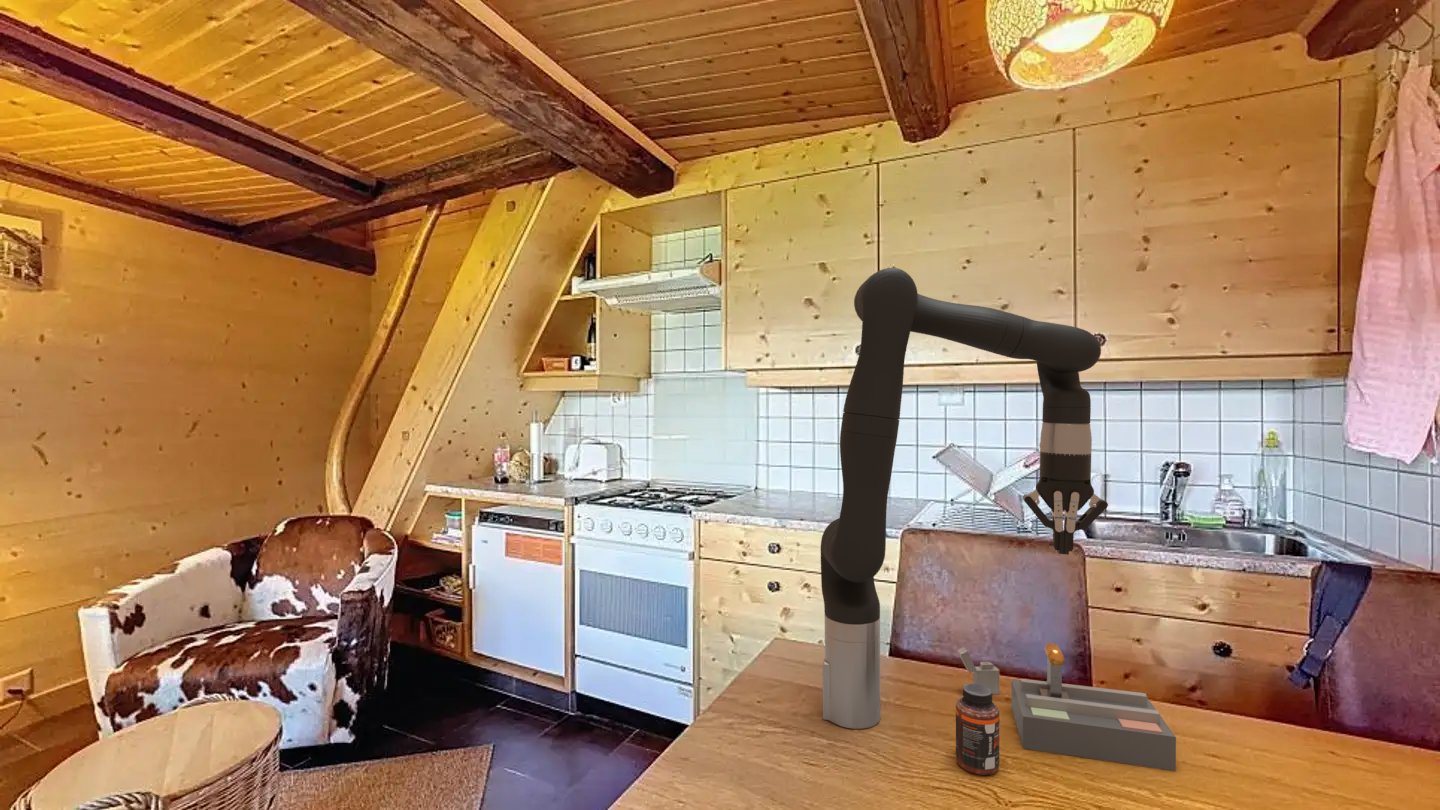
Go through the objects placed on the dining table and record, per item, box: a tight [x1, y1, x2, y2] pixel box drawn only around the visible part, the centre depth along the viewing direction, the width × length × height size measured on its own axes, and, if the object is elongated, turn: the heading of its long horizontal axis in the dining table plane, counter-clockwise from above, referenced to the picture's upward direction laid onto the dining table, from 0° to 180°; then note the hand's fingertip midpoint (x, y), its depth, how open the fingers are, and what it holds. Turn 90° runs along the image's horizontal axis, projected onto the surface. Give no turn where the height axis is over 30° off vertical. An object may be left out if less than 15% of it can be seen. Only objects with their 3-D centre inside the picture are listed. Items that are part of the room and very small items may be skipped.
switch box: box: [1010, 678, 1177, 772], centre depth 99 cm, size 20×13×7 cm, turn 72°
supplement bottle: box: [955, 682, 1000, 776], centre depth 92 cm, size 6×6×11 cm
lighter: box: [956, 646, 1000, 695], centre depth 115 cm, size 7×2×8 cm, turn 89°
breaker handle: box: [1039, 642, 1070, 699], centre depth 101 cm, size 4×4×8 cm
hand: (1062, 553), depth 105 cm, fingers closed
